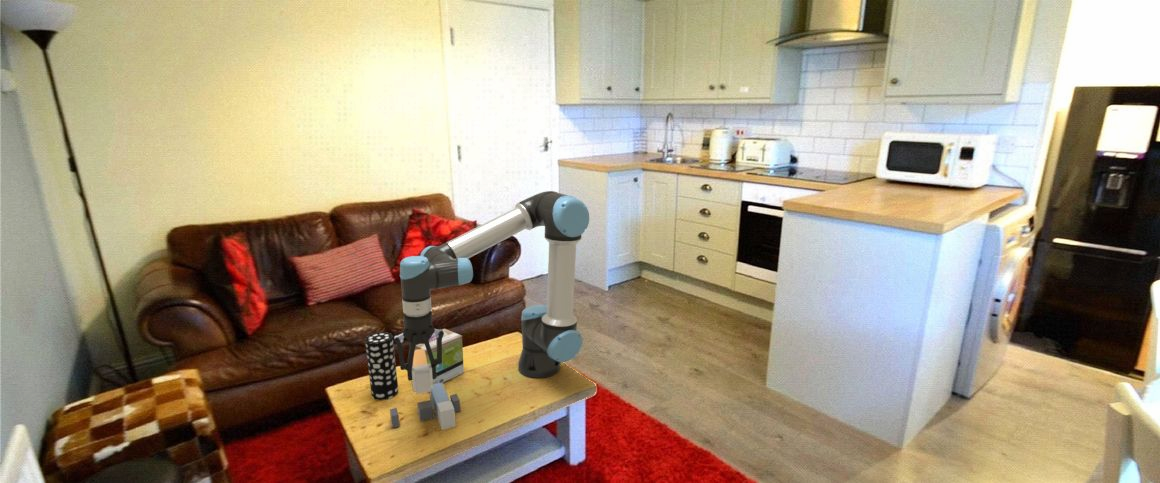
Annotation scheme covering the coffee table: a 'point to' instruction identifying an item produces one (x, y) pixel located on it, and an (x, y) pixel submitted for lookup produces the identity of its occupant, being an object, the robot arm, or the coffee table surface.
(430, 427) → the coffee table surface
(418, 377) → the white-capped orange post
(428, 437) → the coffee table surface
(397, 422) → the grey blocks
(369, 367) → the spotted tube
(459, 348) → the tea box
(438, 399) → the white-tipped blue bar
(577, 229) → the robot arm
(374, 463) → the coffee table surface
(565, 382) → the coffee table surface
